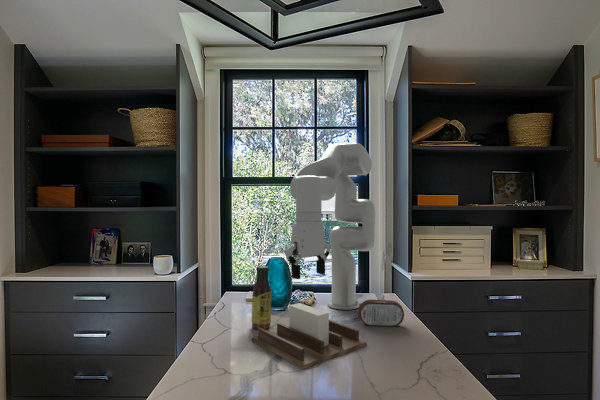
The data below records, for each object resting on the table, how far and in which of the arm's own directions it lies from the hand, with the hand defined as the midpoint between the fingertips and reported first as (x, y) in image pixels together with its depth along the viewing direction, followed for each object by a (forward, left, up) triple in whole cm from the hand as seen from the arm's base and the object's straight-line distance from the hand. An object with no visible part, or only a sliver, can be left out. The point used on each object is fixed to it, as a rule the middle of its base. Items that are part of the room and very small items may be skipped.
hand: (308, 276), depth 110 cm
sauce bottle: (+3, -20, -20) cm, 28 cm away
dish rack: (0, 0, -20) cm, 20 cm away
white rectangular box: (0, 0, -19) cm, 19 cm away
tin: (-29, +4, -20) cm, 35 cm away
